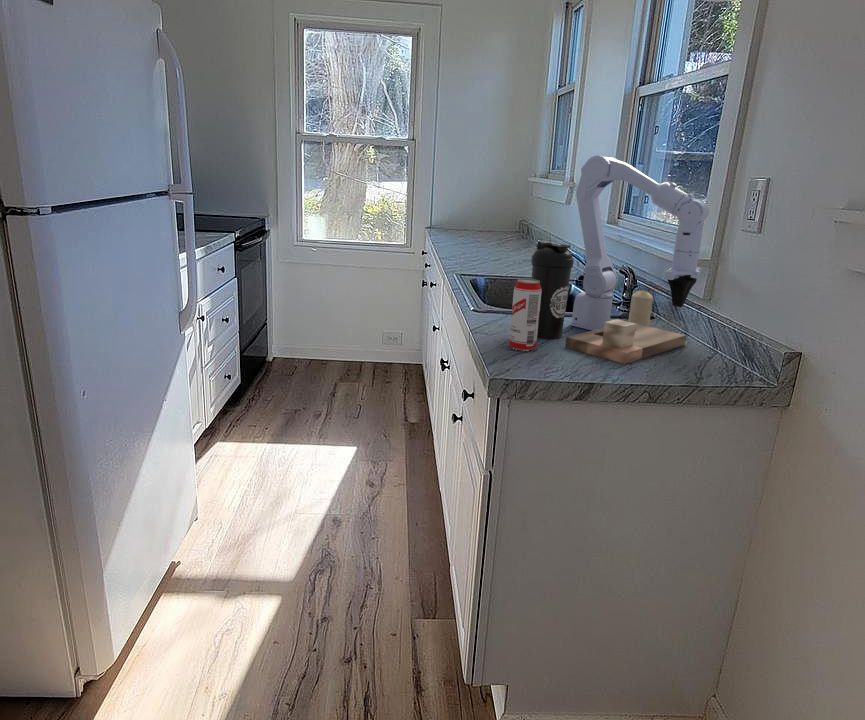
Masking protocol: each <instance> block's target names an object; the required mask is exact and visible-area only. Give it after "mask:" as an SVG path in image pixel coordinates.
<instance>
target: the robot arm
mask: <svg viewBox="0 0 865 720" xmlns="http://www.w3.org/2000/svg"><path fill="white" fill-rule="evenodd" d="M580 170H581V172H580V173H581V175H580V177H579V182H578V185H577V188H576V192H575V196H576V201H577V202H576V203H577V208H578V213H579V214H578V215H579V221H580V226H581V232H582V237H583V244H584V251H585V256H586V263H585V265H584V267H583V272H584V276H583V281H582V288H583V290H584V291H582V292H579V293H578V294H577V295H576V297H575V299H574V302H573V307H572V308H573V309H572V319H571V322H570V323H569V325H570V326H573V327H577V328H580V329H584V330H589V331H593V330H597V329H602V328H604V326H605V322H607V321H611V313H612V305H613V299H614V292H613V290H615V289H616V288H617V286H618V284H619V276H618V274H617V272H616V271H615V269H614V266H613V263H612V261H611V259H610V258H609V256H608V252H607V251H608V250H607V246H606V244H607V243H606V240H605V239H606V237H605V232H604V227H603V220H602V214H601V207H600V202H599V196H600V195H601V194H602V192H603V191H604V190H605V188H606V187H607V186H609V185H610V184H612V183H613V182H614V181H624V182H626V183H627V184H629V185H631V186H634V187H635V188H637V189H638V190H640V191H642V192H644V193H646V194H648V195H649V196H650V197H651V200H652V201H651V202H652V203H653V204H654V205H655V206H657V207H658V208H660V209H662V210H663V211H665V212H667V213H669V214H670V215H672V216H674V217H676V218H677V220H678V226H677V231H676V237H675V244H674V249H673V256H672V263H671V267H670V268H669V269H667V270H665V272H664V275H663V277H664V280H667V282H668V286H669V289H670V292H671V302H672V307H678V308H682V307H684V305H685V302H686V301H687V298H688V295H689V293H690V291H691V290H692V288H693V287H694V285H695V284H697V278H695V277H692V276H700V275H701V274H702V272H701V270H702V267H699V266H698V264H699V263H698V261H699V256H700V252H701V246H702V245H701V244H702V239H703V230H704V224H705V222H704V221H705V220H706V219H707V218H708V215H709V212H710V211H709V207H708V205H707V204H706V202H704V201H703V199H700V198H695V199H694V197H695V195H694V194H692V193H686V192H685V191H683V190H681V189H679V188H678V184H677V183H675V182H668V181H665V182H662V183H658V182H657V181H655V180H654V179H652V178H651V177H649V176H647V175H646V174H645V173H643V172H641V171H640V170H638V169H637V168H636V167H634V166H633V165H631V164H629V163H628V162H625V161H622V160H618V159H617V158H616V157H614V156H602V155H593V156H591V157H590V158H588V159H587V160H586V162H585V163H584V164H583V166H581V168H580Z"/></svg>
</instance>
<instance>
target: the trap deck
mask: <svg viewBox="0 0 865 720" xmlns="http://www.w3.org/2000/svg"><path fill="white" fill-rule="evenodd" d="M631 323H632V322H631ZM635 324H636V323H635ZM603 333H604V328H602V329H597V330H593V331H592V330H589V331H586V332H581V333H577V334H572V335H569V336H566V339H565V348H567V349H570V350H574V351H578V352H581V353H586V354H587V355H593V356H596V357H599V358H602V359H606V360H609V361H614V362H617V363H620V364H624V365H626V364H629V363H630V364H631V363H633V362H636V361H638V360H641V359H646V358H648V357H651V356H654V355H657V354H661V353H664V352H667V351H670V350H673V349H676V348H679V347H683V346H685V345H686V339H687V335H686V334H682V333H678V332H674V331H670V330H666V329H665V330H664V329H663V328H662V329H660V328H657V327H652V326H650V325H649V326H644V325H640V324H636V328H635V334H634V341H633V345H631V346H627V347H624V348H619V347H615V346H611V345H608V344H604V343H602V341H603Z"/></svg>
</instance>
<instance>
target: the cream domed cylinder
mask: <svg viewBox="0 0 865 720" xmlns="http://www.w3.org/2000/svg"><path fill="white" fill-rule="evenodd" d="M630 299H631V300H630V307H629V314H628V315H629V316H628V320H627V322H632V323H636V324H640V325H644V326H649V327H650V321H651V315H652V314H651V313H652V307H653V303H654V302H653V300H654V297H653V295H652V294H651V293H650V292H648V291H647V290H645V289H644V290H636V291H635V292H634V293H633V294H632V295H631V298H630Z"/></svg>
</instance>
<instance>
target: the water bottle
mask: <svg viewBox="0 0 865 720" xmlns="http://www.w3.org/2000/svg"><path fill="white" fill-rule="evenodd" d="M569 248H570V249H571V245H569V244H553V243H552V242H551V241H541V242H538V243H537V244H536V250H535V251H534V252H533V254H532V255H531V261H530V262H531V265H532V267H531V269H532V270H531V279H535V280H539V281H540V286H541V289H542V292H541V302H540V312H539V322H538V332H537V339H541V338H543V340H558V339H560V338H562V335H563V330H564V329H563V328H564V321H565V314H566V309H567V301H568V296H569V287H570V279H571V273H572V268H573V266H574V262H575V261H574V260H575V259H574V257H573V255H572V253H571V251H569V250H568V249H569Z"/></svg>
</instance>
